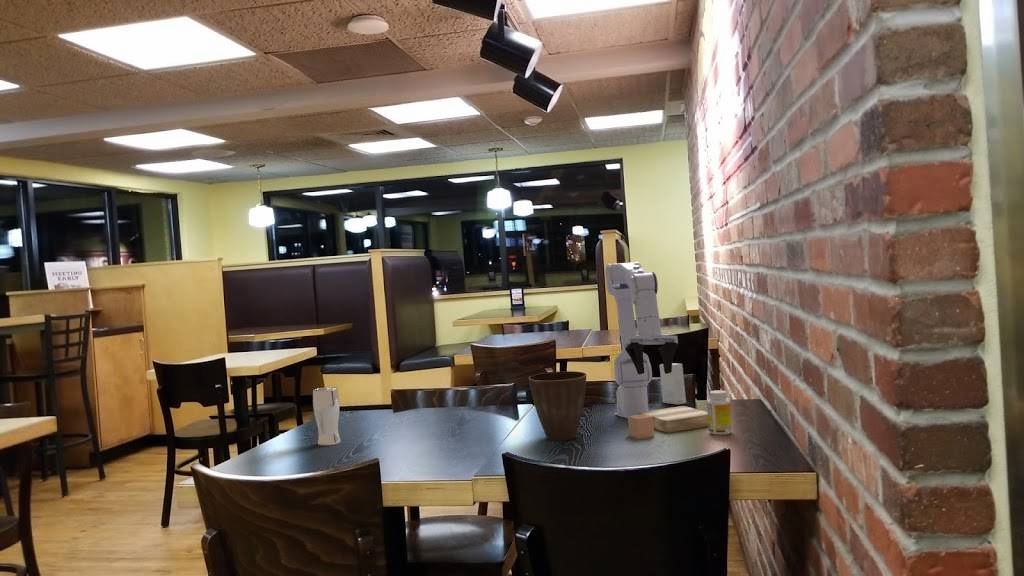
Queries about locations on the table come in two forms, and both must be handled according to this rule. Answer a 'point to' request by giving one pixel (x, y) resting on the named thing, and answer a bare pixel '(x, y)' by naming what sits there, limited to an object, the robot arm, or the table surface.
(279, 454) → the table surface
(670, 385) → the skincare box
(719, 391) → the supplement bottle
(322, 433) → the beer glass
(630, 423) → the terracotta block
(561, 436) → the plant pot
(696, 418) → the maple base
